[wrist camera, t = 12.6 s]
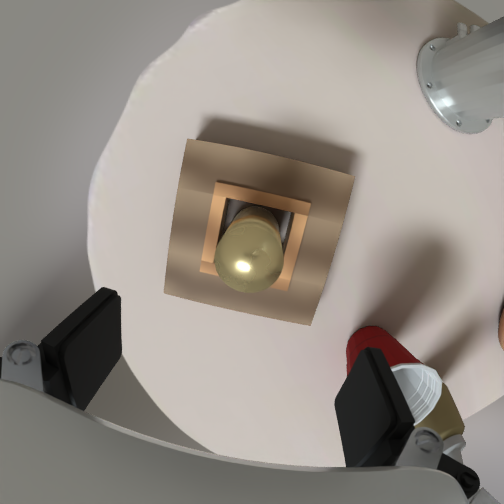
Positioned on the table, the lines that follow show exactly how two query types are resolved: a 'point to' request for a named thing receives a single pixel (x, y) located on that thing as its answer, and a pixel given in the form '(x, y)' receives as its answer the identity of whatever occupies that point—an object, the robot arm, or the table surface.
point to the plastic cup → (400, 369)
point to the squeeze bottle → (446, 424)
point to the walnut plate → (263, 193)
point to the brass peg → (250, 251)
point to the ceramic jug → (501, 330)
